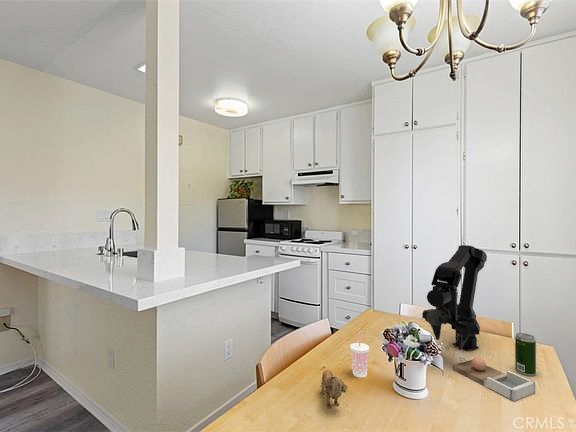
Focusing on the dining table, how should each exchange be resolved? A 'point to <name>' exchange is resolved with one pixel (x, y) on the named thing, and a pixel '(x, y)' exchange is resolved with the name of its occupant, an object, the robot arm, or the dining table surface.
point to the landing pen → (512, 386)
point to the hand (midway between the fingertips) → (448, 344)
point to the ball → (478, 363)
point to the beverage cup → (359, 358)
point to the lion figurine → (332, 387)
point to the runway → (479, 373)
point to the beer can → (525, 354)
